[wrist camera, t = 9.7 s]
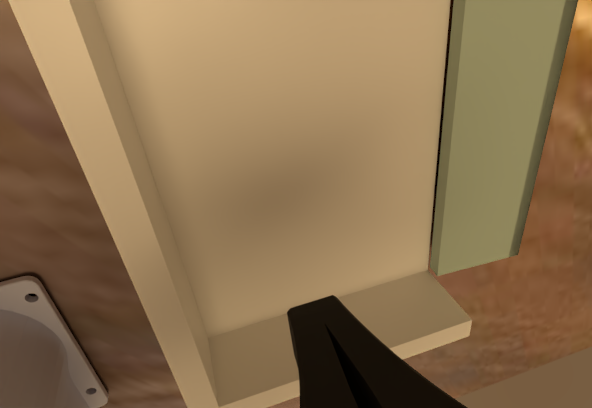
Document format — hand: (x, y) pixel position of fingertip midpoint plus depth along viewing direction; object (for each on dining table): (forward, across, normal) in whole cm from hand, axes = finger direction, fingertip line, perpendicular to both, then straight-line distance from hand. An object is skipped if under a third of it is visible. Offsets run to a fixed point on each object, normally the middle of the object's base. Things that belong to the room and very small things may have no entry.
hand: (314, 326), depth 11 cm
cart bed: (+9, -2, -2) cm, 10 cm away
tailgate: (+8, -9, -2) cm, 12 cm away
